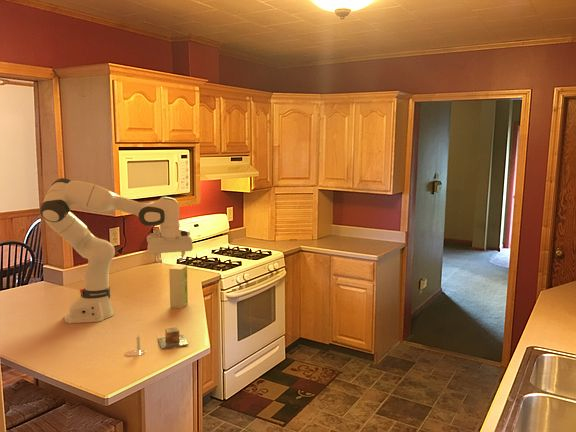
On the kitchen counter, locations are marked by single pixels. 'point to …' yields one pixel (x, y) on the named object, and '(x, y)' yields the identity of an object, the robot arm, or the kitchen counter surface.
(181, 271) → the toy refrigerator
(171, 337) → the cube
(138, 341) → the unidentifiable
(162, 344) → the trivet
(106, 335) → the kitchen counter surface
